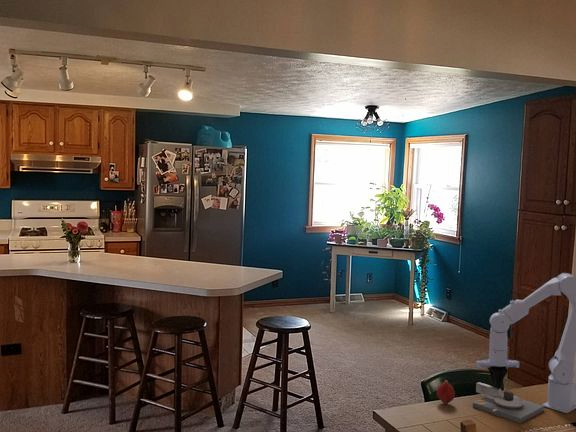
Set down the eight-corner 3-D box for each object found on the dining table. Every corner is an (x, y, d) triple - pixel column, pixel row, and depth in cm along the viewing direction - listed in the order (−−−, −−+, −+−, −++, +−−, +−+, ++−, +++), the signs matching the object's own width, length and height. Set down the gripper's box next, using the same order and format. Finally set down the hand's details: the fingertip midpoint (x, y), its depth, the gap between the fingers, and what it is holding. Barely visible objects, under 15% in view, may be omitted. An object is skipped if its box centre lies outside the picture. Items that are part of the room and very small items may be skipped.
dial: (528, 404, 177) (528, 393, 176) (514, 411, 171) (515, 399, 171) (484, 390, 188) (484, 379, 188) (470, 396, 182) (470, 385, 182)
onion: (432, 401, 182) (433, 378, 182) (447, 399, 184) (448, 376, 183) (442, 408, 176) (443, 383, 176) (458, 406, 178) (458, 382, 178)
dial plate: (543, 410, 176) (544, 405, 176) (517, 424, 165) (517, 418, 165) (497, 395, 188) (497, 391, 188) (470, 407, 177) (470, 402, 177)
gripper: (512, 345, 189) (511, 383, 190) (472, 345, 188) (471, 384, 188) (523, 351, 182) (521, 391, 183) (481, 351, 181) (480, 391, 181)
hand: (496, 388), depth 185 cm, fingers closed
